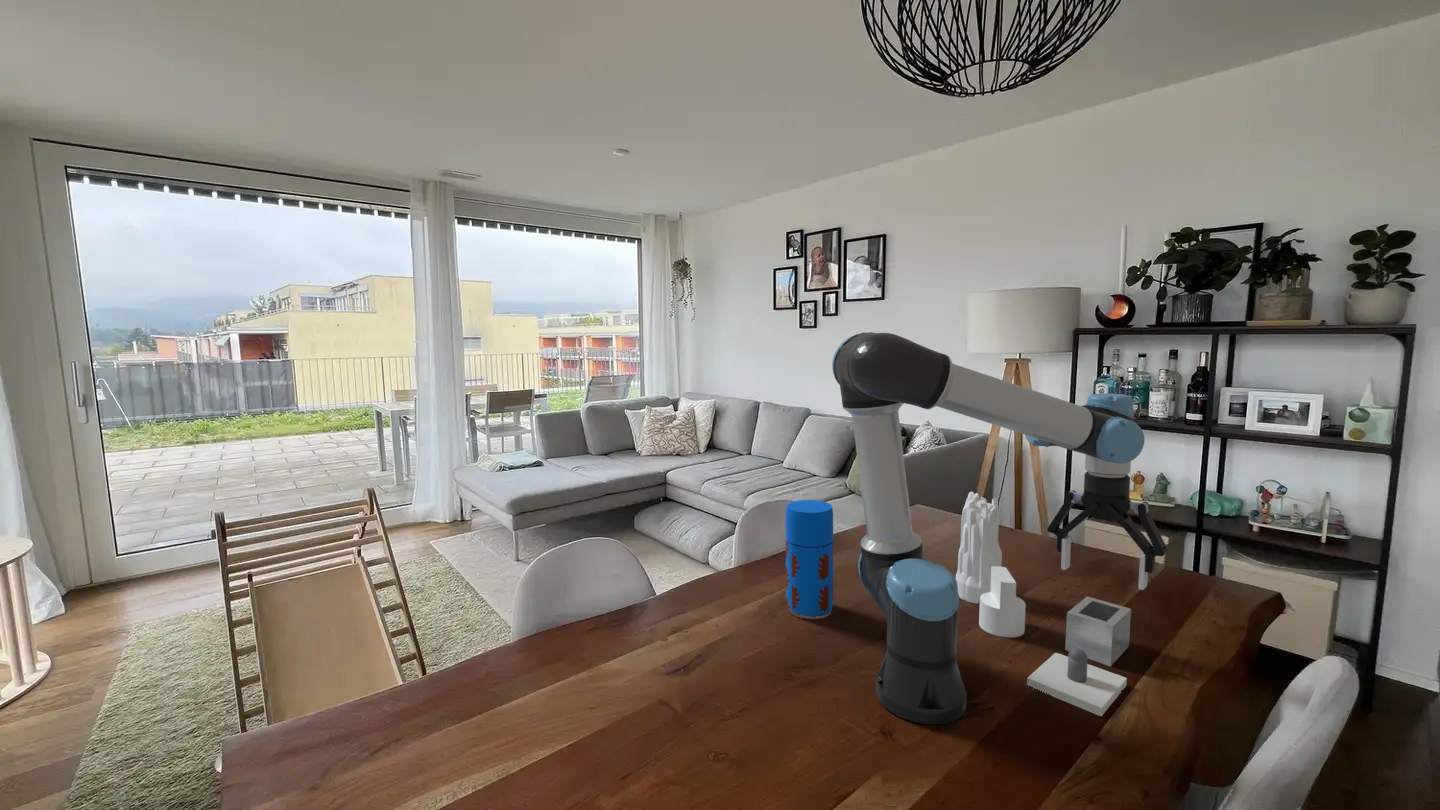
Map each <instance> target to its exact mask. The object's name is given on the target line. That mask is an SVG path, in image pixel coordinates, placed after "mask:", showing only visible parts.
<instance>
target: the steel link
mask: <svg viewBox="0 0 1440 810" xmlns="http://www.w3.org/2000/svg"><path fill="white" fill-rule="evenodd" d="M1131 617H1132V608H1129V607H1126V606H1122V605H1120V604H1115V603H1111V602H1108V601H1105V600H1102V599H1097V598H1095V597H1091V596H1085V597H1084V598H1083V599H1082V600H1081V601H1080V602H1078V603H1076V605H1074V606H1073V607H1072V608H1071V609H1069V610H1068V611H1067V612H1066V624H1065V625H1066V626H1065V629H1066V630H1065V644H1064V646H1065V647H1064V648H1065V649H1064V651H1065V650H1066V651H1065V652H1068V653H1069V652H1070V650H1072V649H1074V648H1078V649H1081V650H1083V651H1084V652H1085V653H1086V655H1087V657H1088V660H1091V661H1094V662H1096V663H1099V664H1102V665H1105V666H1108V667H1112V665H1114V664H1115V662H1116V661H1117V660H1118V659H1119V658H1120V657H1121V656H1122V655H1123V653H1125V651H1126V650H1127V649H1128V648H1129V647H1130V634H1131V633H1130V631H1131V621H1132V620H1131Z"/></svg>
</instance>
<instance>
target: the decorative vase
mask: <svg viewBox="0 0 1440 810" xmlns="http://www.w3.org/2000/svg"><path fill="white" fill-rule="evenodd" d="M999 515H1000V512H999V499H997V498H996V497H993V498H992V499H991V503H990V502H988V501H987V499H986V497H983V496H980V494H979V493H977V492H976V493H974V491H969V492H968V494H967V498H966V499H965V503H964V507H963V509H962V513H961V518H960V520H961V521H960V522H961V523H960V546H959V549H958V557H957V570H956V574H955V579H956V581H957V585H958V594H959V599H961V600H964V601H965V602H968V603H972V604H976V605H978V604H979V605H980V596H981V595H982V594H984V593H988V592H990V590H991V567H992V566H999V567H1002V563H1003V561H1002V560H1003V558H1002V557H1003V553H1002V549H1001V547H1000V543H999V526H1000V525H999V521H1000V520H999V519H1000V516H999Z"/></svg>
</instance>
